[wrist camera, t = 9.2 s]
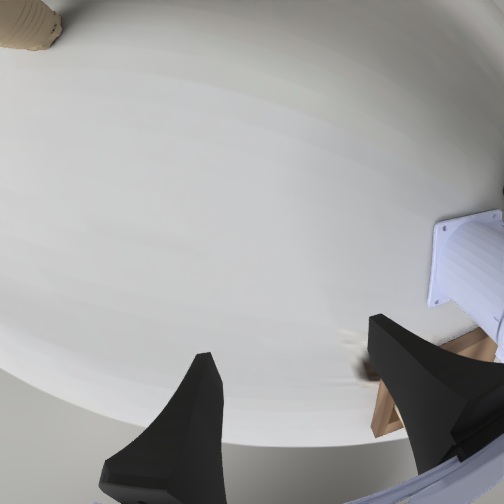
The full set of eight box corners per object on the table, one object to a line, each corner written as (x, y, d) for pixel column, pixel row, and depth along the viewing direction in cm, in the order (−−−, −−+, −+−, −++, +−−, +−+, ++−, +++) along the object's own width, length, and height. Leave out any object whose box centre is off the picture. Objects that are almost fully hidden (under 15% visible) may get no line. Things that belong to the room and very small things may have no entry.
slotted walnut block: (498, 316, 24) (507, 325, 22) (474, 380, 29) (480, 388, 27) (382, 368, 25) (389, 381, 23) (370, 426, 29) (375, 438, 27)
